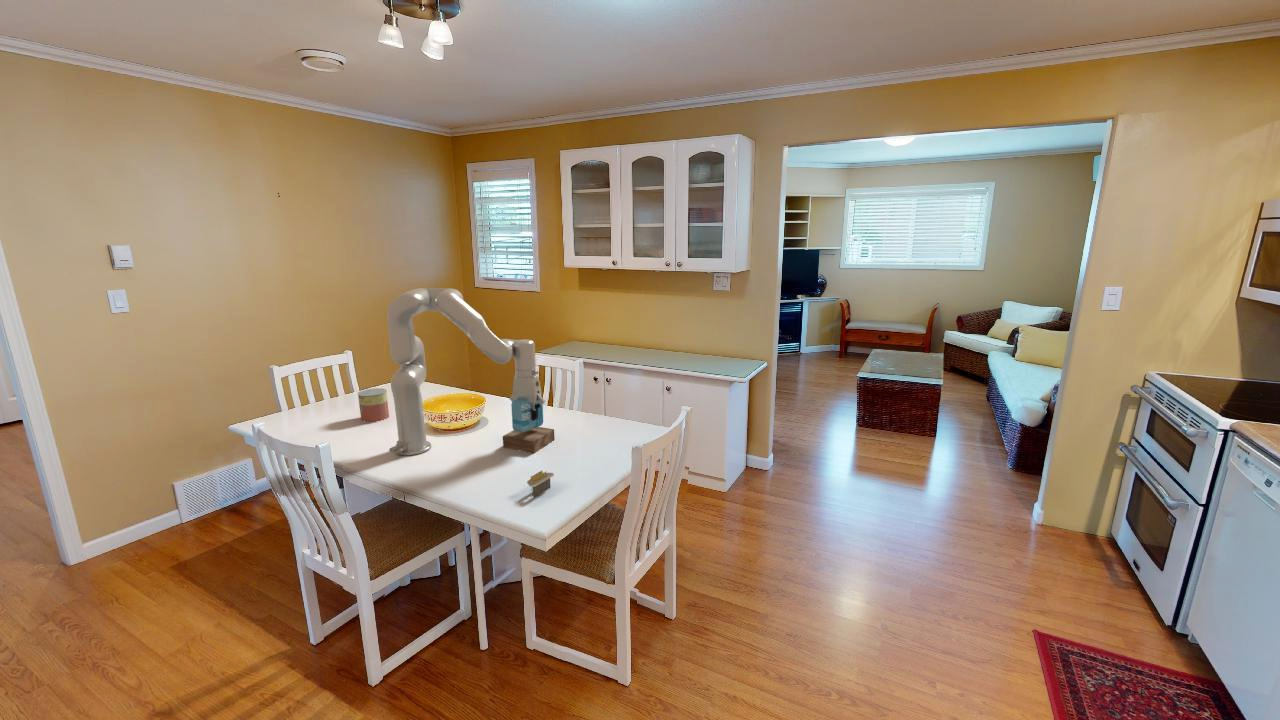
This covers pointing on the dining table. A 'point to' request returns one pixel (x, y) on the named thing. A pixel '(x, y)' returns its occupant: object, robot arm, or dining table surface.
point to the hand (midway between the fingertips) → (527, 418)
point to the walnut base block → (529, 439)
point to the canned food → (373, 405)
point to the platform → (540, 482)
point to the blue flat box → (525, 416)
